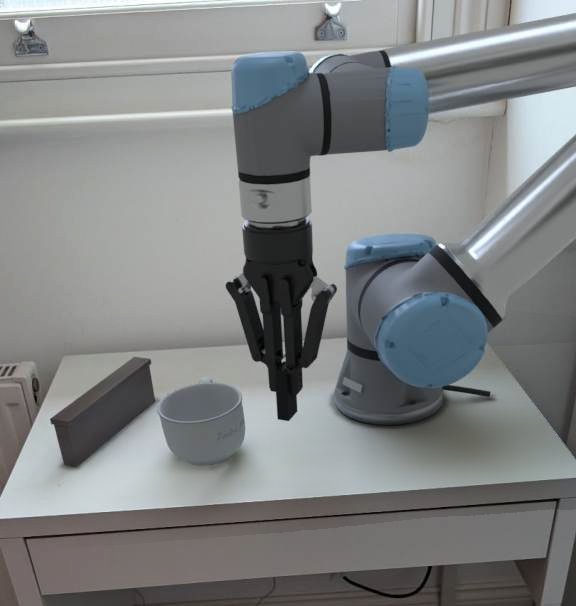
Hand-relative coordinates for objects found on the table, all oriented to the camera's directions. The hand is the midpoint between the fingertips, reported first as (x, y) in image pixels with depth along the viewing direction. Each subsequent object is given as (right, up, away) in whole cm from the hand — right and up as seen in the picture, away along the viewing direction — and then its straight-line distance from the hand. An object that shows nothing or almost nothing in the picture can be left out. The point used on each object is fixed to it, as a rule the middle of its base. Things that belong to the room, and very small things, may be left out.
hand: (287, 415), depth 100 cm
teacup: (-10, -3, +8) cm, 14 cm away
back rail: (-25, -1, +14) cm, 28 cm away
